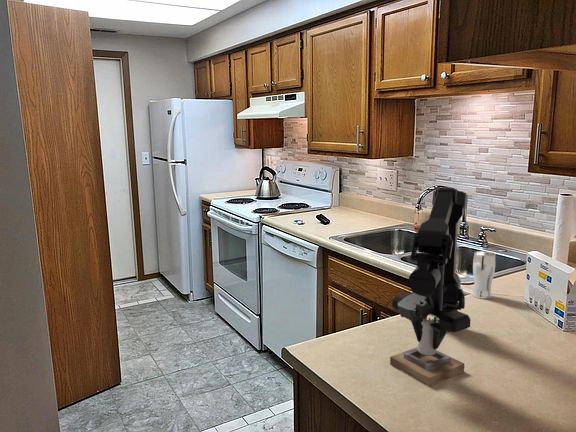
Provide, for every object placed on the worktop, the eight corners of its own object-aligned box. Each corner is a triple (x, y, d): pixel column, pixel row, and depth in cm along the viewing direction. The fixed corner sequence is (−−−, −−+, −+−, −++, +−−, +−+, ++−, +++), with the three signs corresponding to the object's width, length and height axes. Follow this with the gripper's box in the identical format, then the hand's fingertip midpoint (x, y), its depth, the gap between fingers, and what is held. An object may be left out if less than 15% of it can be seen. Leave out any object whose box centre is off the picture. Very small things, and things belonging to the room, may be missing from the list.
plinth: (424, 351, 121) (424, 340, 120) (463, 371, 111) (464, 358, 110) (390, 364, 114) (390, 352, 114) (428, 386, 104) (429, 372, 104)
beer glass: (483, 291, 166) (485, 250, 163) (497, 298, 159) (500, 255, 157) (466, 293, 164) (469, 251, 161) (480, 300, 157) (483, 256, 155)
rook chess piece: (422, 345, 115) (423, 314, 113) (439, 351, 112) (441, 319, 111) (414, 352, 111) (415, 320, 110) (432, 358, 109) (433, 325, 107)
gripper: (376, 277, 112) (374, 339, 115) (439, 300, 97) (436, 371, 99) (409, 270, 118) (407, 328, 121) (474, 290, 103) (469, 357, 105)
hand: (427, 345), depth 111 cm, fingers closed on rook chess piece, 4 cm apart
